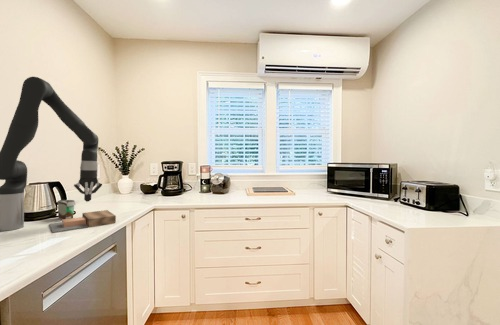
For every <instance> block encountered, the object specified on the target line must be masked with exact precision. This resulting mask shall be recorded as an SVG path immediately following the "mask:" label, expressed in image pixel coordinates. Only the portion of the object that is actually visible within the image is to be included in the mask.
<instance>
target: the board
mask: <svg viewBox="0 0 500 325" xmlns="http://www.w3.org/2000/svg"><path fill="white" fill-rule="evenodd" d="M81 213H82V216H81V217H84V218H85V219H86V225H87V226H88V227H87V228H93V227H99V226H106V225H110V224H111V225H112V224H116V220H117V219H116V218H117V216H116V214H114V213H112V212H111V211H109V209H105V210H103V209H102V210H97V211H95V210H94V211H86V212H81Z"/></svg>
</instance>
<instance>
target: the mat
mask: <svg viewBox="0 0 500 325" xmlns="http://www.w3.org/2000/svg"><path fill="white" fill-rule="evenodd" d="M48 226H49V228H50V230H51V232H52V233H53V234H56V233H62V232H68V231H74V230H80V229H86V228H89V227H88V226H87V225H86V224H84V225H77V226H71V227H63V225H62V221H59V222H53V223H49V224H48Z"/></svg>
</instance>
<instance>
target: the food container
mask: <svg viewBox="0 0 500 325" xmlns="http://www.w3.org/2000/svg"><path fill="white" fill-rule="evenodd" d="M76 205H77V203H76V201H75V200H74V199H62V200H61V199H60V200H57V210H58V211H57V215H58V216H57V217H58V219H60V220H64V219H71V218H74V212H75V206H76Z"/></svg>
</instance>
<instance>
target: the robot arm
mask: <svg viewBox="0 0 500 325" xmlns="http://www.w3.org/2000/svg"><path fill="white" fill-rule="evenodd" d="M42 102H44V103H45V104H46V105H47V106H49V107H50V108H51V110H52V111H53V112H54V113H55V114H56V115H57V117H58V118H59V120H61V122H62V123H63V124H64V125H65V126H66V127H67V128H68V129H69V130H70V131H71V132H73V133H74V134H75V136H76V137H77V138H78V139H79V140H80V141H81V142H82V151H81V159H80V167H79V168H80V172H79V179H78V182H77V183H74V184H73V187H74V188H75V189H76V190H77V191H78V192H79V193H80V194H82V195H84V199H83V200H84V201H85V202H86V203H87V202H90V201H91V200H92V195H93V194H95V193H96V192H98V191H99V189H100V188H101V187H102V186H103V184H102V183H100V182H99V180H98V148H99V137H98V134H96V133H95V132H94V131H92V129H90V128H89V127H88V126H87V125H86V124H85V122H84V121H83V120H82V119H81V118H80V117H79V116H78V114H76V113H75V112H74V111H73V110H72V109H71V108H70V107H69V106H68V104H66V103H65V102H64V101H63V100H62V98H61V97H60V96H59V95H58V94H57V92H56V91H55V89H54V88H53V87H52V85H51V84H50V82H49V81H46V80H45V79H42V78H40V77H37V76H29V77H27V78H26V79H25V80H23V83H22V86H21V92H20V96H19V102H18V103H17V107H16V109H15V112H14V114H13V117H12V119H11V122H10V125H9V126H8V127H9V128H8V131H7V134H6V137H5V140H4V141H3V144H2V146H1V149H0V181H4V180H5V182H4V183H3V184H2V185H1V186H0V232H1V231H2V232H6V231H13V230H18V229H21V228H24V225H25V189H26V187H27V183H28V167H27V164H26V163H25V162H23V161H22V160H18V159H19V156H20V153H21V152H23V150H24V149H25V148H26V147H27V146H28V145H29V144H30V143H31V142H33V140H34V138H35V136H36V133H37V130H38V127H39V109H40V106H41V104H42ZM81 187H82V188H83V189H82V188H81Z"/></svg>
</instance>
